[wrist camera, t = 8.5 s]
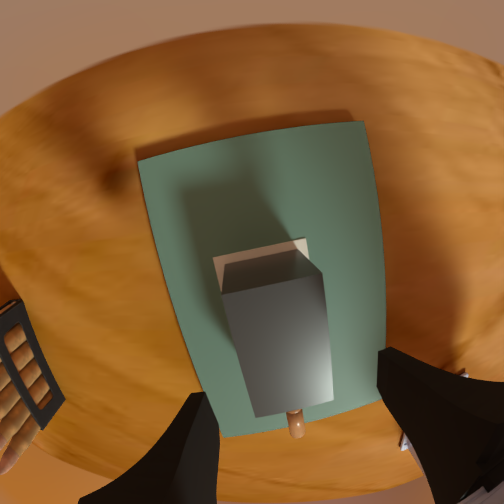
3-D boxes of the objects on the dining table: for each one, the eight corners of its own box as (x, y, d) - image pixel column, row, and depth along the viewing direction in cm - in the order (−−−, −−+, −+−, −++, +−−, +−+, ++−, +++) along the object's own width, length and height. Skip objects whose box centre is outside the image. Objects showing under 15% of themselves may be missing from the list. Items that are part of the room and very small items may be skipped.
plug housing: (316, 391, 19) (334, 437, 14) (260, 404, 19) (266, 453, 14) (297, 248, 17) (322, 273, 12) (224, 264, 17) (221, 294, 12)
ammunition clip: (10, 299, 18) (-79, 361, 6) (22, 298, 18) (-72, 365, 6) (53, 398, 20) (0, 478, 8) (66, 399, 20) (13, 485, 8)
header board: (377, 392, 21) (393, 416, 18) (223, 429, 21) (223, 459, 18) (357, 123, 16) (382, 112, 13) (142, 162, 16) (121, 157, 13)
